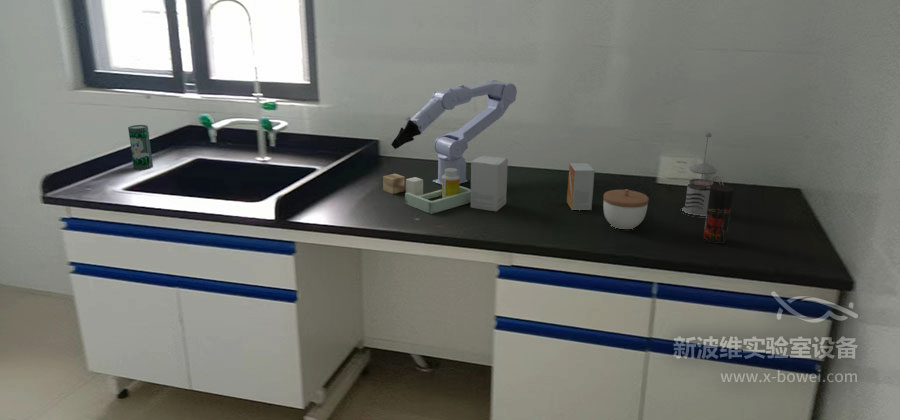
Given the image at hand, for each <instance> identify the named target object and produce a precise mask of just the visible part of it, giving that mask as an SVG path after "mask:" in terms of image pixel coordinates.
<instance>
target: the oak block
mask: <svg viewBox="0 0 900 420" xmlns="http://www.w3.org/2000/svg"><path fill="white" fill-rule="evenodd" d="M382 183H383V184H382V186H383V188H382V190H383V192H386V193H389V194H391V195H393V194H399V193H402V192H406V180H405V175H404V176H403V175H400V174H398V173H392V174H387V175H383V176H382Z"/></svg>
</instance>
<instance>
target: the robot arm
mask: <svg viewBox="0 0 900 420" xmlns="http://www.w3.org/2000/svg"><path fill="white" fill-rule="evenodd" d="M517 93H518V90H517V86H516V85H515V84H514V83H510V82H509V83H508V82H503V81H499V80H496V79H494V80H487V82H484V83H480V84H478V85H474V86H472V87H468V86H467V85H464V84H459V85H458V87H455V88H454V87H453V88H451V87H448V88H447V90H441V89H439V90H437V91H434V92H433V93H432V96H431V98H430V100H429V101H428V102H427V103H426V104H425V105H424V106H423V107H421V109H420V110H418V111H417V112H416V114H414V115H413V116H412V117H409V116H406V118H405V120H406V125H405V127H400V129H399V130H398V131H399V132H398V134H397V136H395V138H394V140H393V141H392V142H391V144H390V146H392V147H393V149H394V150H397V149H398V148H399V149H400V147H402V146H403V145H405V144H407V143H410V142H413V141H414V140H415V138H414V137H417V136H420V135H422V134H423V132H424V131H426V129H428V127H430V125H432V124H433V123H434V122H435V121H436V120H437V119H438V118H439V117H440V116H441V115H442V114H443V113H445V112H446V111H447V110H448V111H452V110H454V109H455V107H456V106H460V105H463V104H467V103H470V102H471V100H472V98H477V97H483V96H486V103H487V104H486V105H487V108H485V109H484V110H483V111H481V112H480V113H478V114H477V115H476V116H475V117H473V118H472V119H471V120H469V121H468V122H467V123H465V124H463V126H461V127H460V128H458V129H457V130H455V131H450V132H447V133H446V134H444V135H439V136H438V137H437V138H436V139H435V141H434V144H433V149H434V151H435V152H436V154H437V158H438V159H437V160H438V162H437V165H438V166H437V170H438V171H437V179H433V180H432V182H433V183H435V184H439V185H441V186H442V176H443V175H444V174H445V169H446V168H455V169H457V175H459V177H460V185H461V184H464V183H467V182H468V179H467V162H466V159H465V158H464V156H463V155H464V153H465V151H467V150H468V149H469V145H468V143H469V142H470V141H472V140H473V139H474V138H476V137H477V136H478V135H480V134H481V133H482V132H484V131H485V130H486V129H487V128H489V127H491V125H492V124H494V123H495V122H497V121H498V120H499V119H501V117H503V116H504V114H505V113H506V112H507V110H508V109H509V106H510V105H512V104H513V103H514V102H516V98H517Z"/></svg>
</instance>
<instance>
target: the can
mask: <svg viewBox="0 0 900 420" xmlns="http://www.w3.org/2000/svg"><path fill="white" fill-rule="evenodd" d="M127 129H128V136H129V143H130V150H131V151H130V152H131V158H132V164H133V169H134V170H136V171H138V170H139V171H142V170H143V171H145V170H149V169H152V168H154V163H153V156H152V155H153V154H152V149H151V140H150V134H149V133H150V132H149V125H147V124H134V125H130V126H128V127H127Z"/></svg>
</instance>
